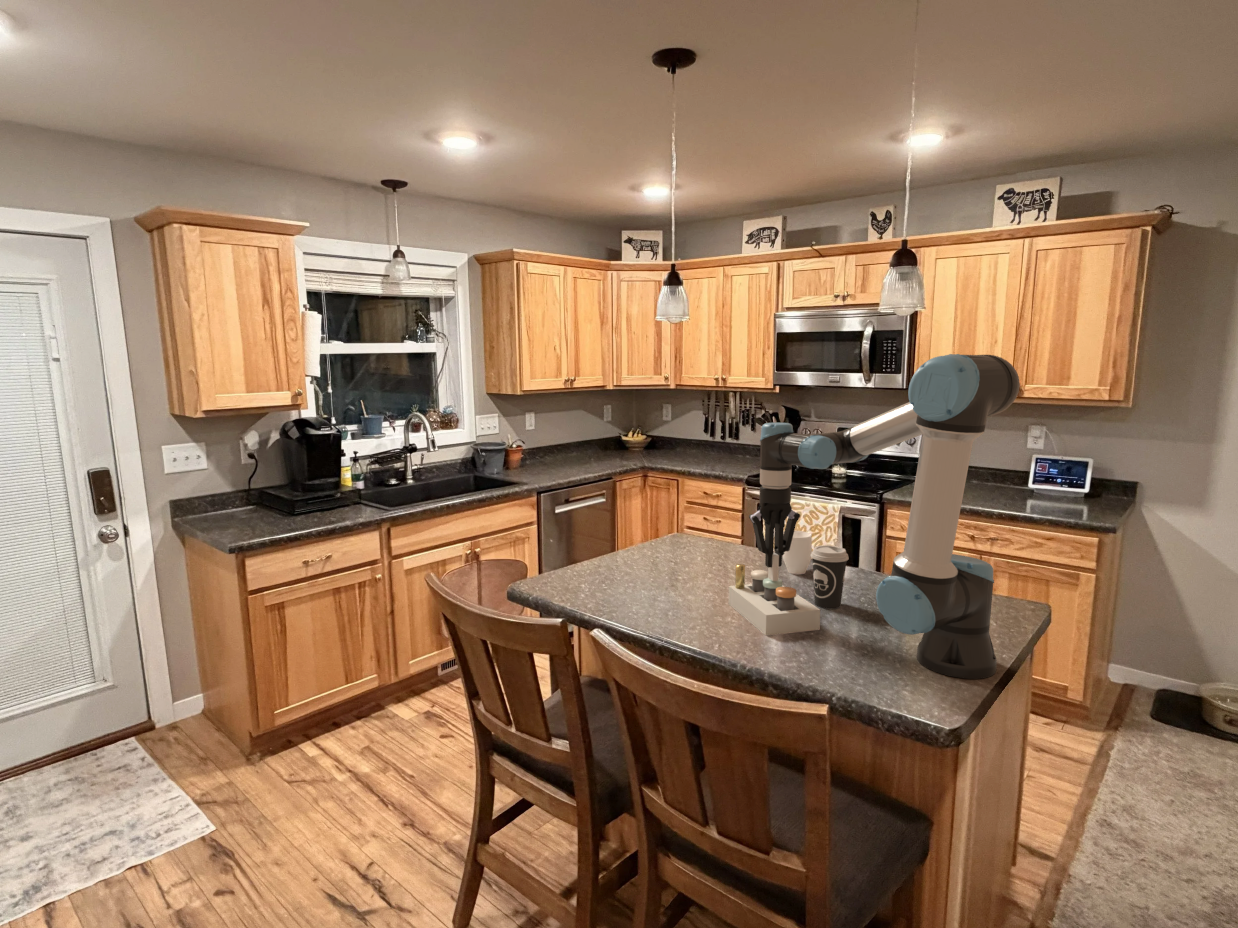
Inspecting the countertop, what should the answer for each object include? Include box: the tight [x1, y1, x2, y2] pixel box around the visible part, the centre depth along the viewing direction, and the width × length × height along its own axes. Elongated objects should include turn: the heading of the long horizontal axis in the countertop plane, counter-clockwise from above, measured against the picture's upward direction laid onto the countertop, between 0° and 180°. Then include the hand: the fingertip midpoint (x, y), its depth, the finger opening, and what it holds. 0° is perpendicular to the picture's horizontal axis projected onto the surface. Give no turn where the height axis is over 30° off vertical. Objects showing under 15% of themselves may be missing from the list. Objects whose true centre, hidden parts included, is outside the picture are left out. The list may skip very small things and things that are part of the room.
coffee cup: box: [810, 544, 849, 610], centre depth 181 cm, size 10×10×15 cm
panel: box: [728, 583, 821, 637], centre depth 173 cm, size 22×14×5 cm, turn 14°
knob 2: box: [763, 578, 784, 601], centre depth 173 cm, size 5×5×9 cm
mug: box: [782, 530, 813, 575], centre depth 210 cm, size 12×9×12 cm
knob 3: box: [776, 586, 797, 611], centre depth 166 cm, size 5×5×9 cm
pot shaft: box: [734, 563, 746, 589], centre depth 180 cm, size 2×2×6 cm
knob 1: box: [750, 569, 768, 592], centre depth 180 cm, size 5×5×9 cm
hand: (773, 579), depth 172 cm, fingers closed
